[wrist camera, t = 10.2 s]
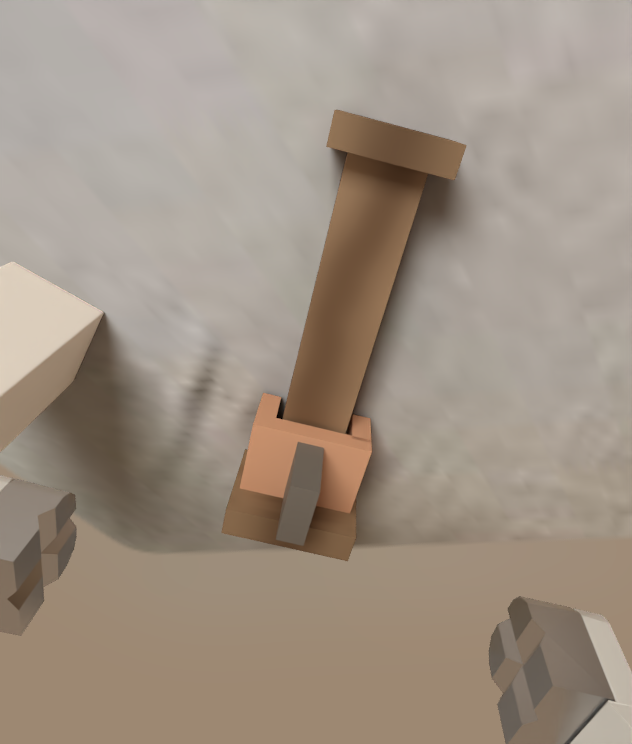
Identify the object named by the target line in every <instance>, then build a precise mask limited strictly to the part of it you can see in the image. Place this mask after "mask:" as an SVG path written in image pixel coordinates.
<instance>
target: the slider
mask: <svg viewBox="0 0 632 744" xmlns="http://www.w3.org/2000/svg"><path fill="white" fill-rule="evenodd" d="M280 400H281V397H278V396H274V395H270V394H266V393H263V395H262V398H261V402H260V405H259V408H258V411H257V414H256V417H255V420H254V423H253V428H252V432H251V437H250V442H249V446H248V451H247V456H246V461H245V465H244V470H243V475H242V479H241V484H240V489H245V490H249V491H254V492H258V493H262V494H267V495H271V496H275V497H280V498H283V502H282V508H281V513H280V519H279V524H278V530H277V535H276V540H279V541H284V542H288V543H293V544H297V545H302V546H304V543H305V539H306V536H307V533H308V530H309V526H310V523H311V520H312V517H313V514H314V510H315V507H316V506H319V507H323V508H328V509H332V510H337V511H341V512H345V513H350V512H351V509H352V506H353V504H354V501H355V498H356V495H357V492H358V490H359V487H360V484H361V481H362V478H363V475H364V473H365V470H366V467H367V464H368V461H369V459H370V456H371V453H372V444H371V424H370V418H366V417H362V416H358V415H354V414H352V417H351V421H350V424H349V427H348V430H347V433H346V434H343V433H338V432H334V431H330V430H326V429H322V428H317V427H313V426H309V425H305V424H300V423H296V422H292V421H288V420H283V419H279V418H276V417H277V413H278V409H279V405H280Z"/></svg>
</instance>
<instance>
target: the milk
mask: <svg viewBox="0 0 632 744" xmlns="http://www.w3.org/2000/svg"><path fill="white" fill-rule="evenodd" d="M103 313H104V312H103V311H101V310H99V309H98V308H96V307H94V306H92V305H90V304H89V303H87V302H85V301H83V300H81V299H80V298H78V297H76V296H74V295H73V294H71V293H69V292H67V291H65V290H64V289H62V288H60V287H58V286H56V285H55V284H53V283H51V282H49V281H47V280H46V279H44V278H42V277H40V276H38V275H37V274H35V273H33V272H31V271H29V270H28V269H26V268H24V267H22V266H21V265H19V264H17V263H15V262H10V263H8V264H6V265H4V266H1V267H0V452H1V451H2V450H3V449H4V448H5V447H6V446H7V445H9V444H10V443H11V442H12V441H13V440H14V439H15V438H16V437H17V436H18V435H19V434H20V433H21V432H22V431H23V430H24V429H25V428H26V427H27V426H28V425H29V424H30V423H31V422H32V421H33V420H34V419H35V418H36V417H37V416H38V415H39V414H40V413H41V412H42V411H43V410H44V409H45V408H46V407H48V406H49V405H50V404H51V403H52V402H53V401H54V400H55V399H56V398H57V397H58V396H59V395H60V394H61V393H62V392H63V391H64V390H65V389H66V388H67V387H68V386H69V385H70V384H71V383H72V382H73V381H74V378H75V376H76V374H77V372H78V370H79V367H80V365H81V363H82V361H83V358H84V356H85V354H86V352H87V349H88V347H89V345H90V343H91V341H92V338H93V336H94V334H95V332H96V329H97V327H98V325H99V323H100V320H101V318H102V316H103Z"/></svg>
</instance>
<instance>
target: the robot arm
mask: <svg viewBox="0 0 632 744" xmlns="http://www.w3.org/2000/svg"><path fill="white" fill-rule="evenodd" d="M75 509H76V501H75V495H74V494H72V493H70V492H66V491H62V490H58V489H54V488H50V487H46V486H43V485H39V484H35V483H31V482H27V481H23V480H19V479H14V478H10V477H6V476H2V475H0V632H4V633H9V634H15V635H19V636H21V635H22V634H23V632H24V631H25V629H26V628H27V626H28V624H29V623H30V622H31V620H32V619H33V617H34V616H35V614H36V613H37V611H38V609H39V608H40V606H41V605H42V603H43V602H44V590H43V587H45V586H46V585H48V584H50V583H52V582H54V581H56V580H57V579H59V577H60V576H61V574H62V572H63V571H64V569H65V568H66V566H67V564H68V562H69V559H70V557H71V554H72V552H73V550H74V546H75V541H76V526H75V524H74V523H73V522H72V520H71V519H70V516H71V515H72V514H73V512H74V511H75ZM508 612H509V615H510V619H508V620H506V621H504V622H501V623H499V624H498V625H497V627H496V629H495V631H494V633H493V634H492V636H491V642H490V648H489V665H490V670H491V675H492V679H493V680H494V682H495V683H496V684H497V685H498V687H499V688H500V690H501V691H502V692H503V695H502V697H501V698H500V700H499V702H498V710H499V714H500V719H501V724H502V729H503V733H504V738H505V743H506V744H632V672H631V670H630V667H629V665H628V663H627V661H626V658H625V657H624V654H623V652H622V650H621V648H620V645H619V643H618V641H617V639H616V637H615V634H614V632H613V630H612V628H611V626H610V624H609V622H608V621H607V619H606V618H604V616H603V615H600V614H596V613H591V612H587V611H582V610H578V609H572V608H570V607H566V606H562V605H557V604H552V603H548V602H543V601H539V600H534V599H530V598H525V597H518V598H516V599H514V600H513V601H512V603H511V604H510V606H509V607H508Z"/></svg>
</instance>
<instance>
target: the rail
mask: <svg viewBox="0 0 632 744" xmlns="http://www.w3.org/2000/svg"><path fill="white" fill-rule="evenodd" d="M326 147H330V148H333V149H337V150H341V151H345V152H347V156H346V160H345V164H344V168H343V172H342V176H341V180H340V185H339V189H338V193H337V197H336V201H335V205H334V209H333V213H332V217H331V221H330V225H329V230H328V234H327V238H326V242H325V246H324V250H323V254H322V258H321V262H320V266H319V271H318V275H317V279H316V283H315V287H314V291H313V295H312V299H311V303H310V307H309V311H308V316H307V320H306V324H305V328H304V332H303V336H302V340H301V344H300V348H299V352H298V356H297V361H296V365H295V369H294V373H293V377H292V381H291V385H290V389H289V393H288V397H287V401H286V406H285V410H284V414H283V418H282V419H283V420H288V421H292V422H296V423H300V424H305V425H309V426H313V427H317V428H322V429H326V430H330V431H334V432H338V433H343V434H346V430H347V427H348V424H349V421H350V418H351V415H352V412H353V408H354V405H355V402H356V399H357V396H358V393H359V390H360V386H361V383H362V380H363V377H364V374H365V371H366V368H367V365H368V361H369V358H370V355H371V352H372V349H373V346H374V343H375V339H376V336H377V333H378V330H379V327H380V324H381V321H382V317H383V314H384V311H385V308H386V305H387V302H388V299H389V295H390V292H391V289H392V286H393V283H394V280H395V277H396V274H397V270H398V267H399V264H400V261H401V258H402V255H403V252H404V248H405V245H406V242H407V239H408V236H409V233H410V230H411V226H412V223H413V220H414V217H415V214H416V211H417V208H418V205H419V201H420V198H421V195H422V192H423V189H424V186H425V183H426V179H427V176H428V173H429V174H432V175H436V176H440V177H444V178H448V179H451V180H455V178H456V175H457V172H458V169H459V166H460V163H461V160H462V157H463V154H464V151H465V148H466V145H464V144H461V143H458V142H455V141H452V140H449V139H445V138H441V137H438V136H434V135H430V134H426V133H423V132H419V131H415V130H411V129H408V128H404V127H400V126H396V125H393V124H389V123H385V122H381V121H378V120H374V119H370V118H367V117H363V116H359V115H355V114H352V113H348V112H344V111H340V110H335V111H334V115H333V119H332V124H331V128H330V133H329V137H328V142H327V146H326ZM247 451H248V450H246V449H245V452H244V455H243V458H242V461H241V465H240V468H239V471H238V474H237V477H236V480H235V483H234V486H233V490H232V493H231V496H230V499H229V502H228V505H227V508H226V513H225V518H224V523H223V528H222V533H224V534H229V535H233V536H238V537H242V538H247V539H251V540H256V541H260V542H265V543H269V544H274V545H278V546H282V547H287V548H291V549H296V550H300V551H305V552H309V553H314V554H318V555H323V556H327V557H332V558H336V559H341V560H345V561H348V559H349V556H350V553H351V551H352V548H353V545H354V543H355V540H356V498H355V501H354V504H353V506H352V509H351V512H350V513H345V512H341V511H337V510H332V509H328V508H323V507H319V506H316V507H315V510H314V514H313V517H312V520H311V523H310V526H309V530H308V533H307V536H306V539H305V543H304V546H302V545H297V544H293V543H288V542H284V541H279V540H276V535H277V530H278V524H279V519H280V513H281V508H282V502H283V498H280V497H275V496H271V495H267V494H262V493H258V492H254V491H249V490H245V489H240V484H241V479H242V475H243V470H244V465H245V461H246V456H247Z"/></svg>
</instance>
